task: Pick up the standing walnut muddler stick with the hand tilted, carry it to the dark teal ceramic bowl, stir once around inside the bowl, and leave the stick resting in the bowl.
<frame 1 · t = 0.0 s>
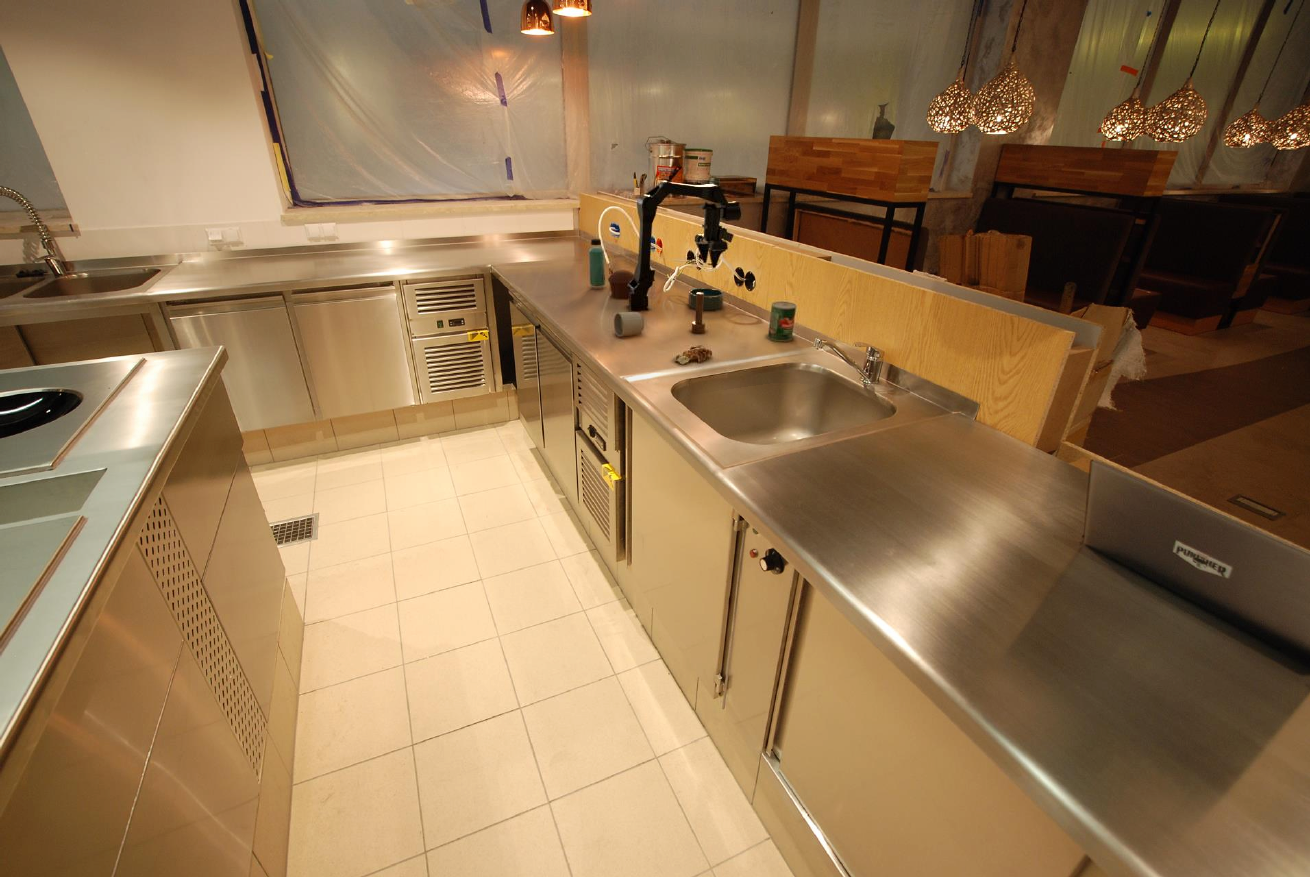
hand: (709, 265, 218), 15 cm above the worktop, tool pointing down, fingers open, 9 cm apart
pastry: (693, 359, 171), on the worktop
beverage bottle: (597, 288, 244), on the worktop
bowl: (705, 306, 221), on the worktop
muddler: (698, 331, 194), on the worktop
canned tomato: (779, 338, 190), on the worktop
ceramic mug: (626, 334, 191), on the worktop
muffin: (622, 296, 233), on the worktop
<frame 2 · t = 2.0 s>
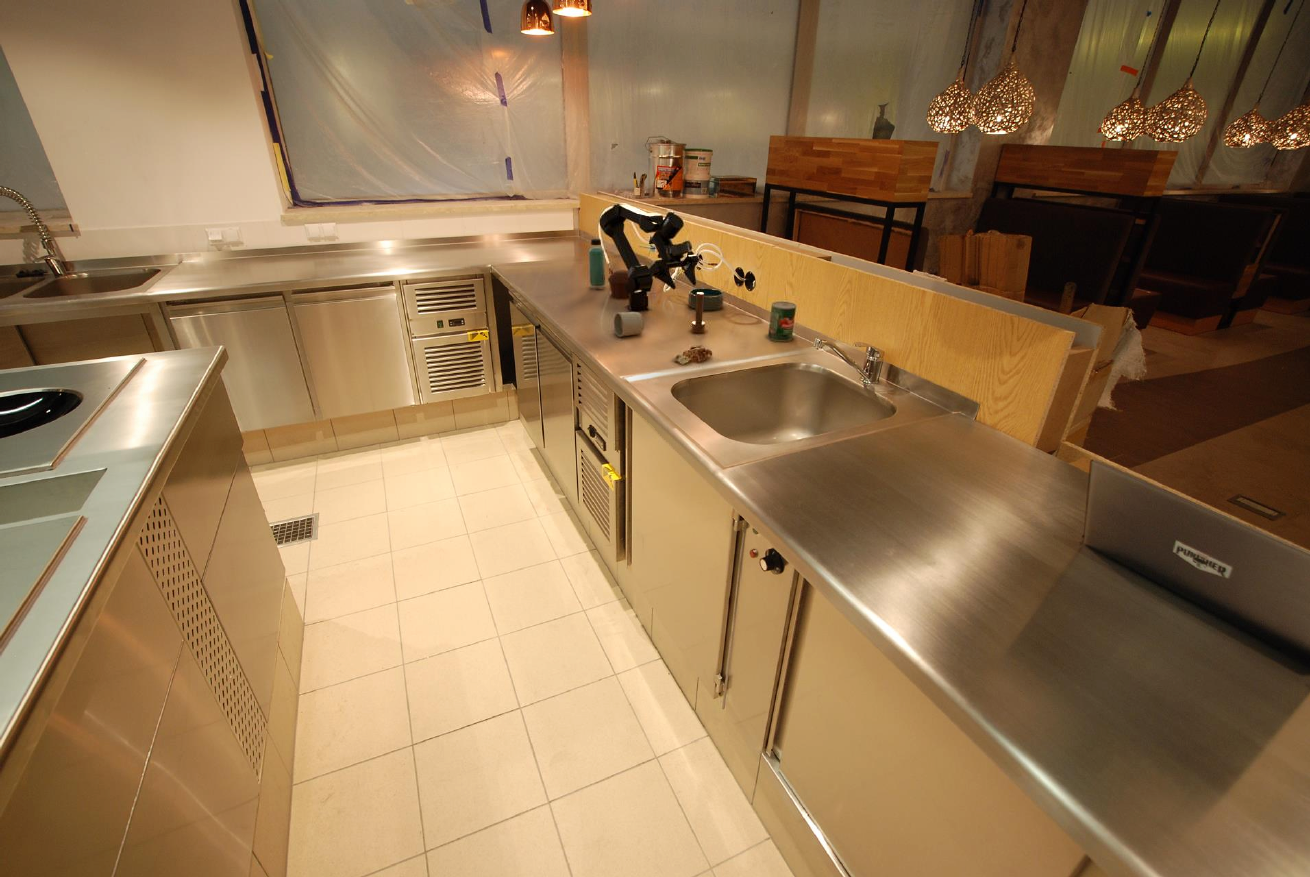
hand: (685, 286, 193), 13 cm above the worktop, tool tilted 45°, fingers open, 9 cm apart
nothing on the worktop moved.
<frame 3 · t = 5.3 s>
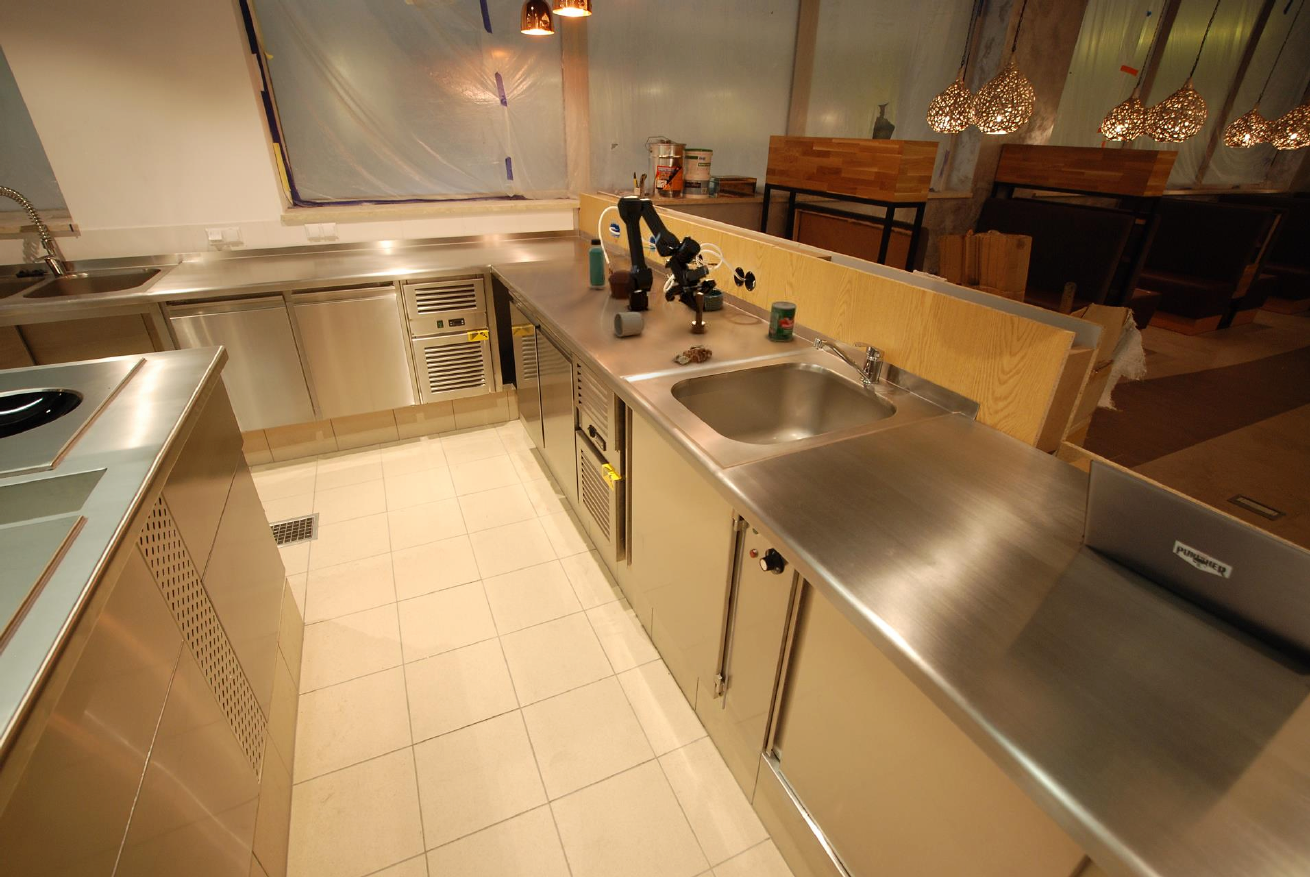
hand: (702, 312, 190), 7 cm above the worktop, tool tilted 45°, fingers closed on muddler, 2 cm apart
muddler: (698, 331, 194), on the worktop, touching gripper
everything else where it was.
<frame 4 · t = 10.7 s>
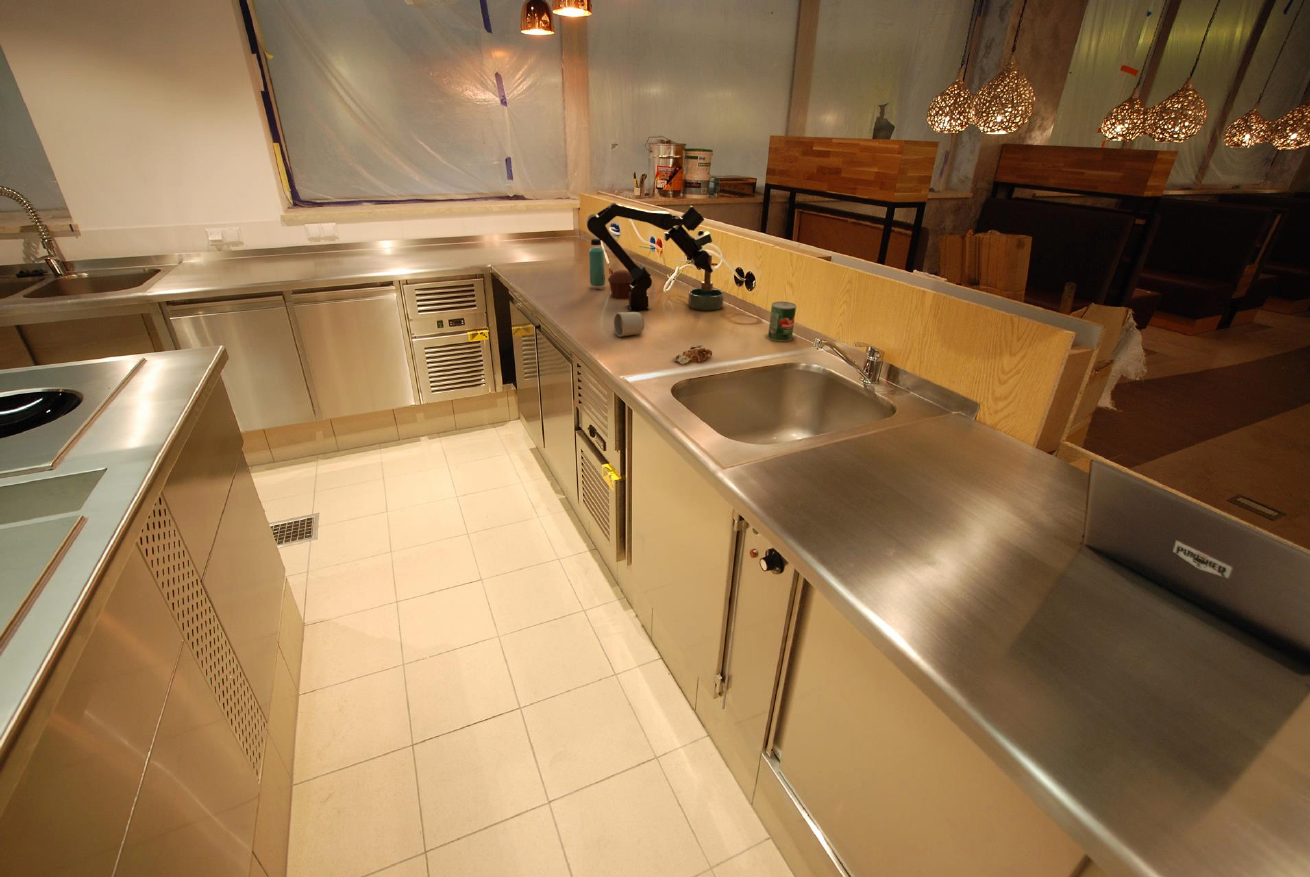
hand: (711, 271, 215), 13 cm above the worktop, tool tilted 45°, fingers closed on muddler, 2 cm apart
muddler: (706, 290, 218), point 6 cm above the worktop, touching gripper
everything else where it was.
when the fingers open (8 cm above the worktop, at t = 16.1 s): muddler stays where it is, resting on bowl.
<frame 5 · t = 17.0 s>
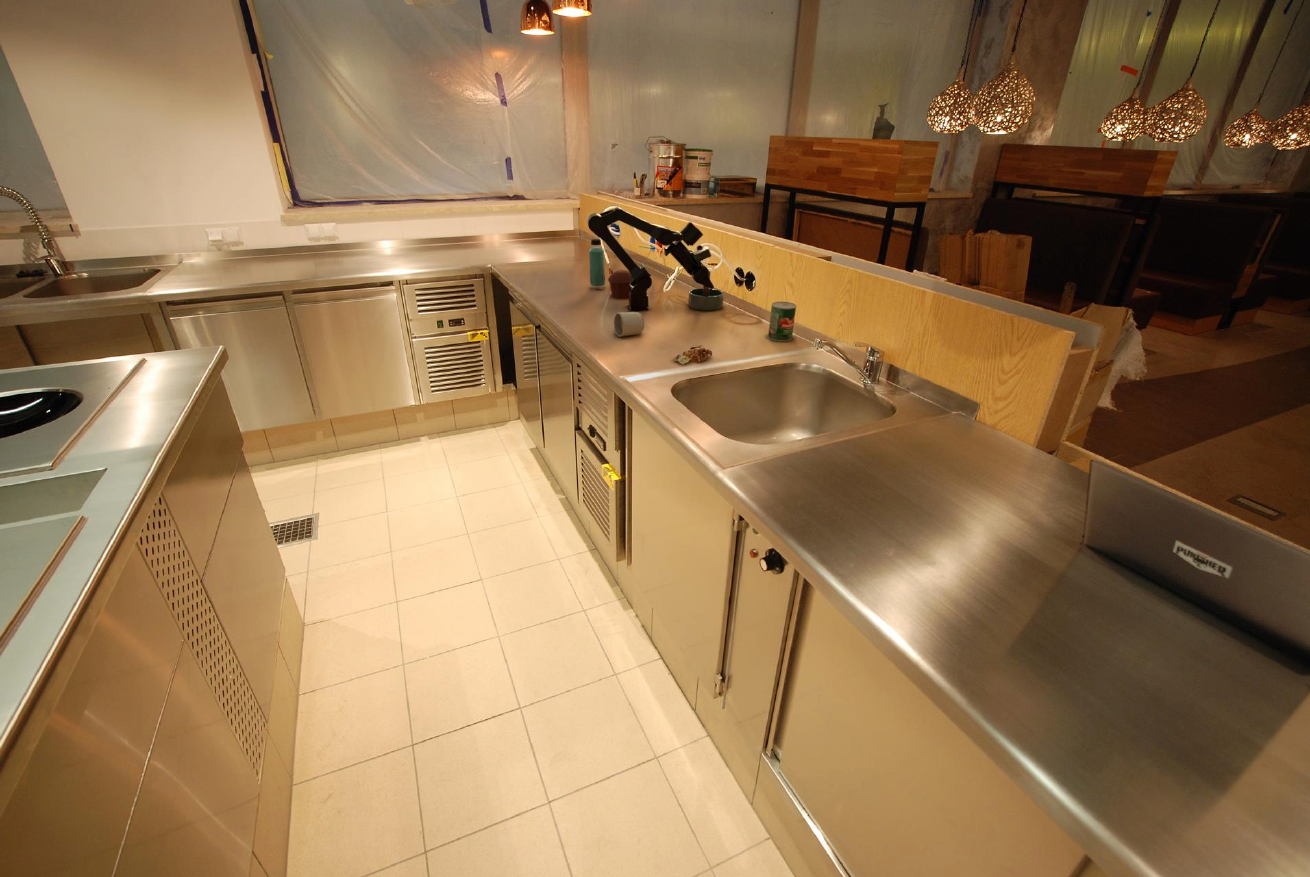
hand: (710, 285, 217), 8 cm above the worktop, tool tilted 45°, fingers open, 9 cm apart
muddler: (705, 305, 221), point 1 cm above the worktop, touching bowl
everything else where it was.
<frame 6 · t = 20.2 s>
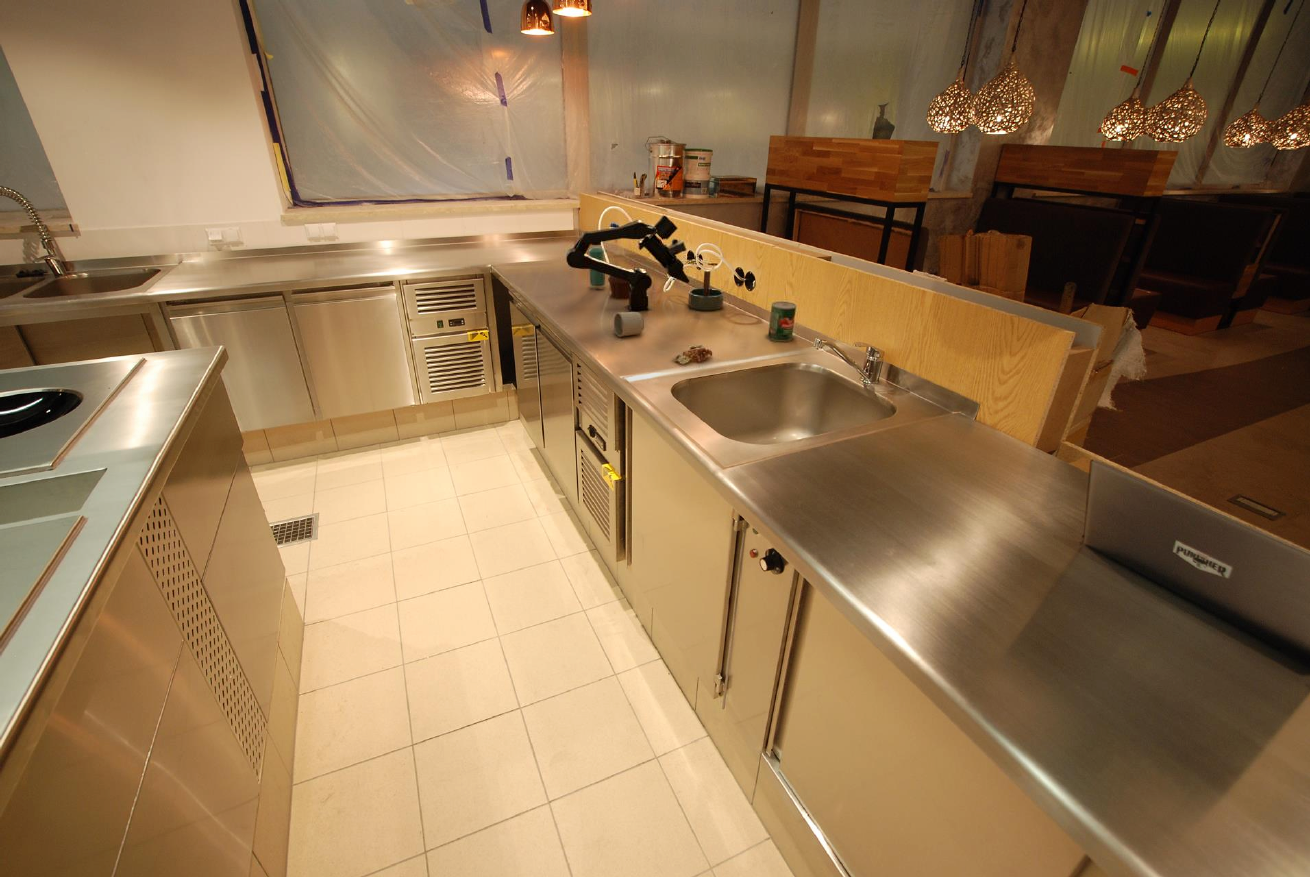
hand: (686, 279, 215), 11 cm above the worktop, tool tilted 45°, fingers open, 9 cm apart
nothing on the worktop moved.
at the end: muddler inside the target area in the bowl (0.0 cm from its centre), point 0.6 cm above the bowl's base; muddler moved 31.3 cm from its start; the gripper is holding nothing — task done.
